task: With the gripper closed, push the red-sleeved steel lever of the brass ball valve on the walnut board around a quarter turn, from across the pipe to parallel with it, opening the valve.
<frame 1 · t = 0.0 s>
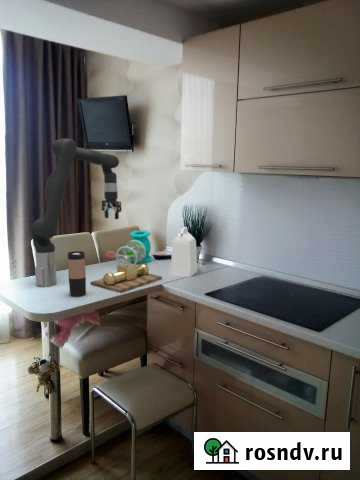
hand: (111, 218, 228), 29 cm above the counter, tool pointing down, fingers open, 8 cm apart
milk: (184, 273, 220), on the counter
travel mug: (78, 295, 182), on the counter
valve lever: (117, 255, 204), point 13 cm above the counter, hinge at 0.0°
valve: (135, 264, 241), on the counter
mounting board: (127, 281, 203), on the counter
brass valve: (127, 281, 203), resting on mounting board
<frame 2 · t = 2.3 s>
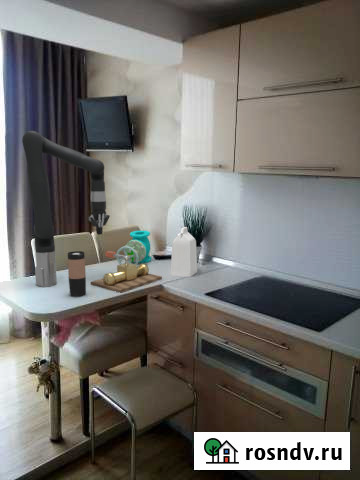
hand: (99, 234, 199), 25 cm above the counter, tool pointing down, fingers closed
nothing on the counter moved.
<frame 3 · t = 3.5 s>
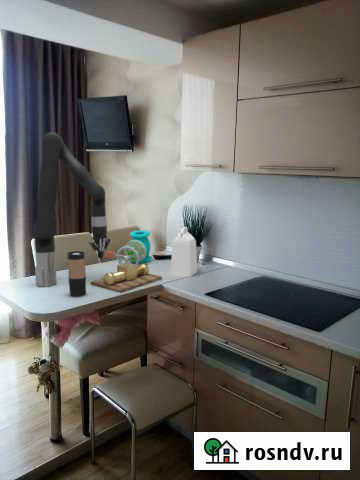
hand: (100, 258, 202), 12 cm above the counter, tool pointing down, fingers closed
nothing on the counter moved.
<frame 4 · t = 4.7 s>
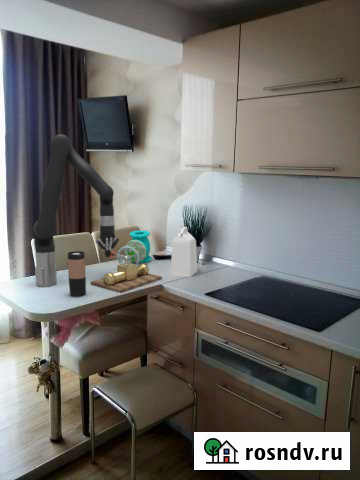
hand: (107, 256, 205), 12 cm above the counter, tool pointing down, fingers closed
valve lever: (118, 255, 204), point 13 cm above the counter, hinge at -3.0°, touching gripper
everything else where it was.
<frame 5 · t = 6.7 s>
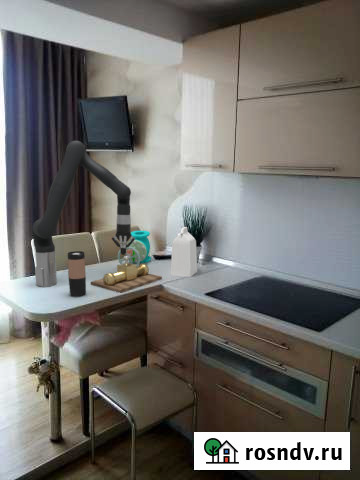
hand: (123, 254, 211), 12 cm above the counter, tool pointing down, fingers closed
valve lever: (128, 254, 207), point 13 cm above the counter, hinge at -52.6°, touching gripper
everything else where it was.
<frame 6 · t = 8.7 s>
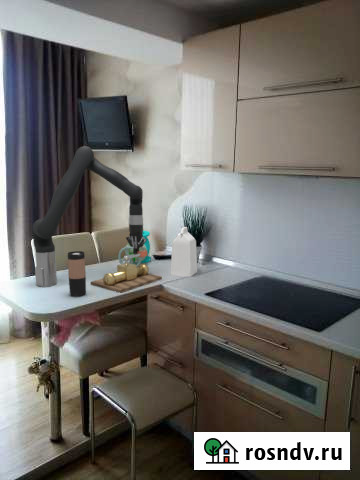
hand: (136, 254, 211), 12 cm above the counter, tool pointing down, fingers closed
valve lever: (135, 255, 205), point 13 cm above the counter, hinge at -89.0°
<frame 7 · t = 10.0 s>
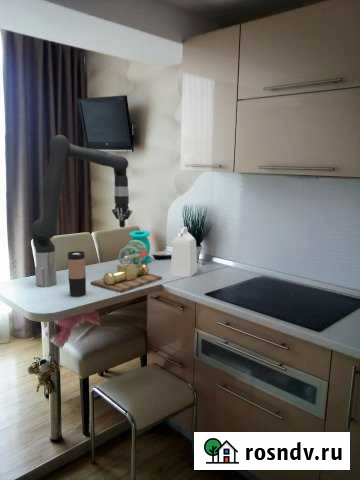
hand: (122, 227, 211), 27 cm above the counter, tool pointing down, fingers closed
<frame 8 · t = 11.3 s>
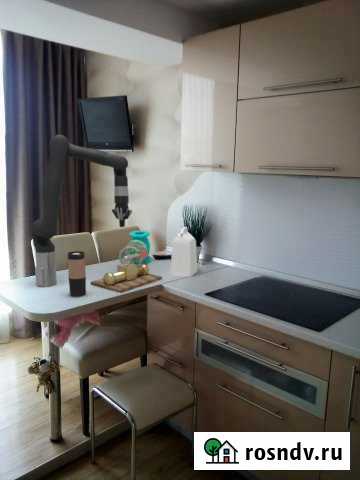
hand: (122, 226, 211), 27 cm above the counter, tool pointing down, fingers closed
at the end: valve lever at -89° (first picture: +0°) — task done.
